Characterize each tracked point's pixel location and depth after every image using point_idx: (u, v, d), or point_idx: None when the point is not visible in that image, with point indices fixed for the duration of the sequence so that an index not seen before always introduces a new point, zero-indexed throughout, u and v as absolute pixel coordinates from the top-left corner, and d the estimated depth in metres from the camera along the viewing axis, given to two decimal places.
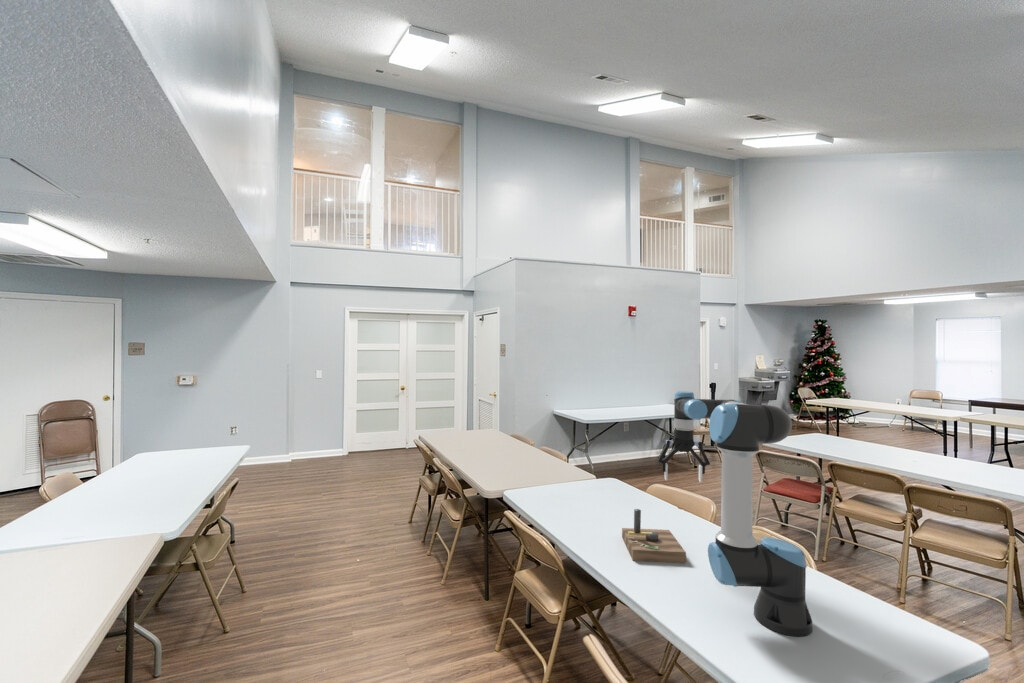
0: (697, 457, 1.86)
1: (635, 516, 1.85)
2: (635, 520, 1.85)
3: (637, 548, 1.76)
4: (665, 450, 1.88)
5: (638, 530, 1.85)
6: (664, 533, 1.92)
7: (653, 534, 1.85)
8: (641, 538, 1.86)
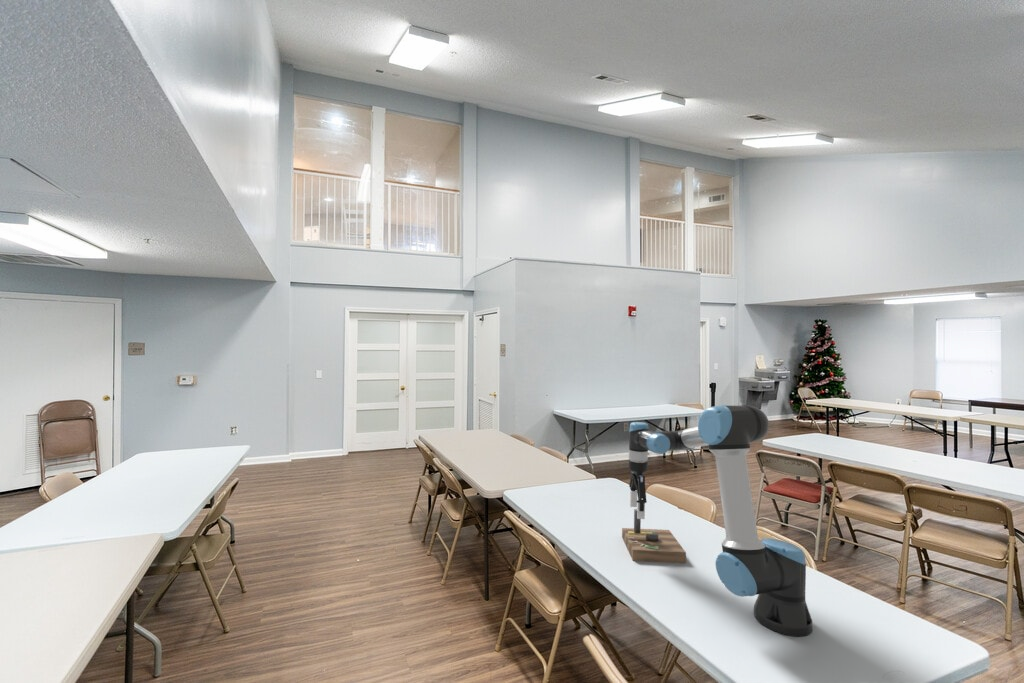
0: (637, 491, 1.81)
1: (635, 516, 1.85)
2: (635, 520, 1.85)
3: (637, 548, 1.76)
4: (631, 477, 1.94)
5: (638, 530, 1.85)
6: (664, 533, 1.92)
7: (653, 534, 1.85)
8: (641, 538, 1.86)
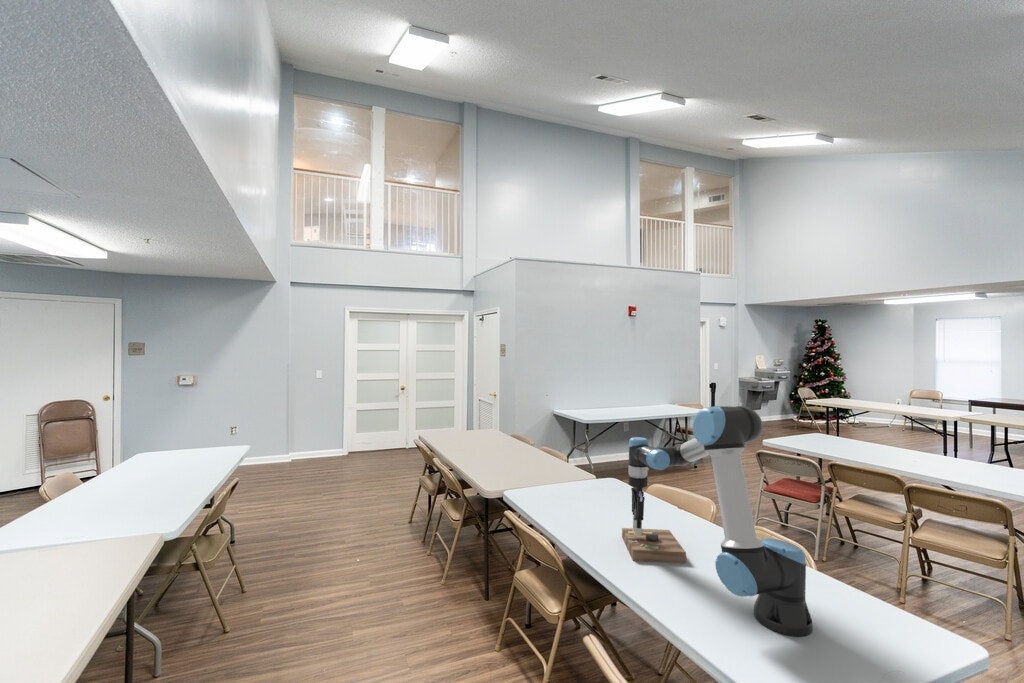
0: (635, 508, 1.84)
1: (635, 516, 1.85)
2: None
3: (637, 548, 1.76)
4: (632, 498, 1.91)
5: None
6: (664, 533, 1.92)
7: (653, 534, 1.85)
8: (641, 538, 1.86)
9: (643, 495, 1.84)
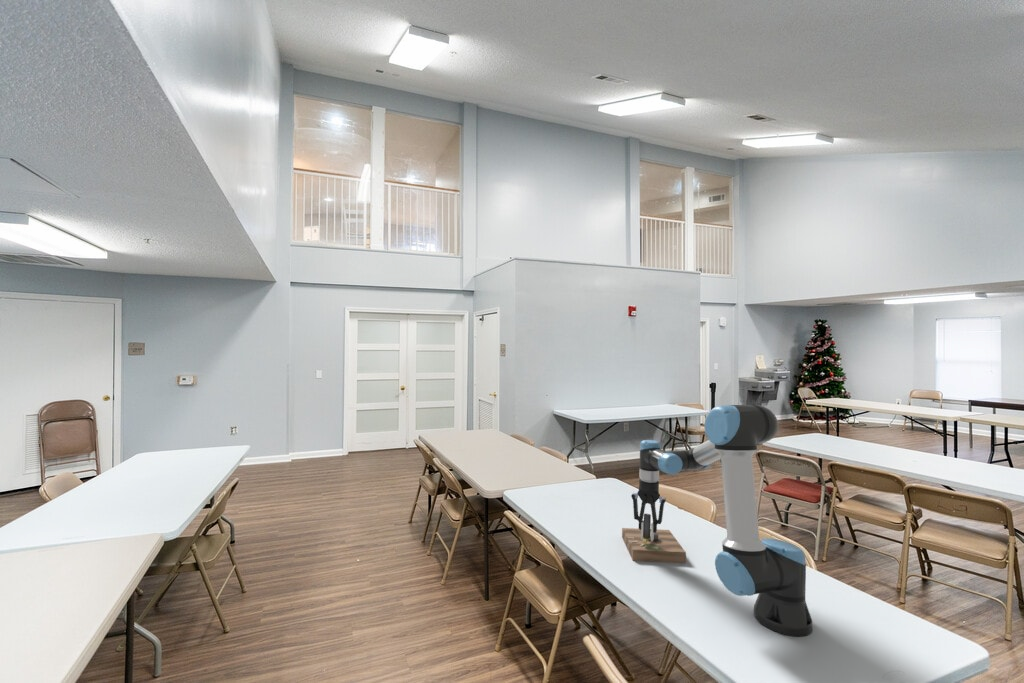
0: (653, 513, 1.79)
1: (648, 521, 1.79)
2: (648, 525, 1.79)
3: (637, 548, 1.76)
4: (634, 505, 1.82)
5: (650, 535, 1.80)
6: (664, 533, 1.92)
7: None
8: None
9: None
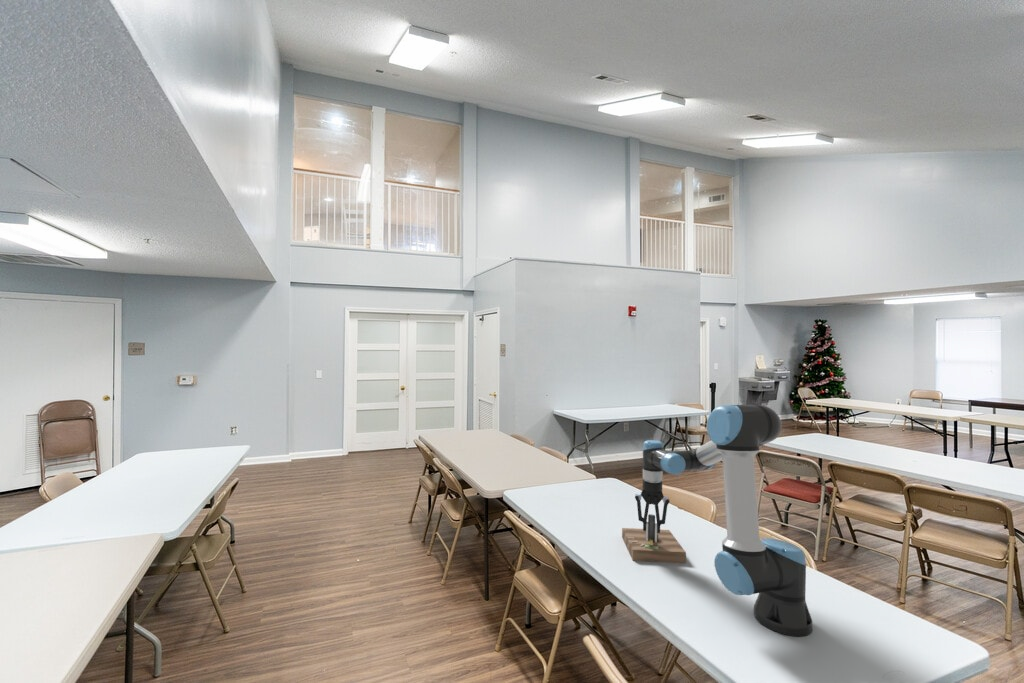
0: (657, 513, 1.78)
1: (653, 522, 1.79)
2: (653, 526, 1.79)
3: (637, 548, 1.76)
4: (638, 506, 1.80)
5: (654, 535, 1.80)
6: (664, 533, 1.92)
7: None
8: (641, 538, 1.86)
9: None
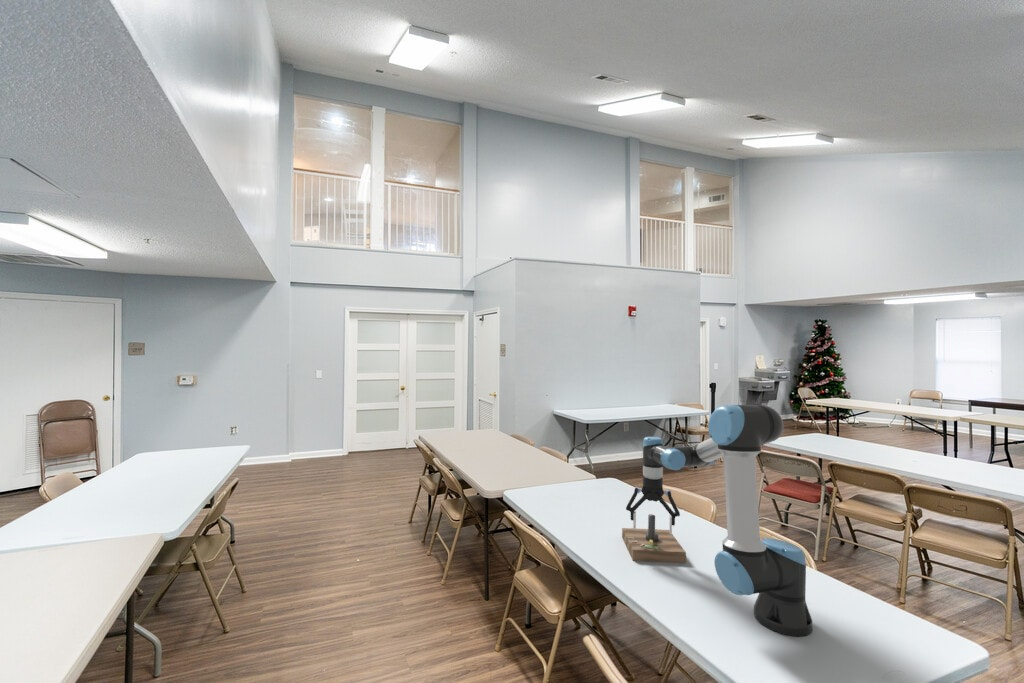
0: (666, 507, 1.77)
1: (653, 522, 1.79)
2: (653, 526, 1.79)
3: (637, 548, 1.76)
4: (633, 498, 1.81)
5: (654, 535, 1.80)
6: (664, 533, 1.92)
7: None
8: (641, 538, 1.86)
9: None
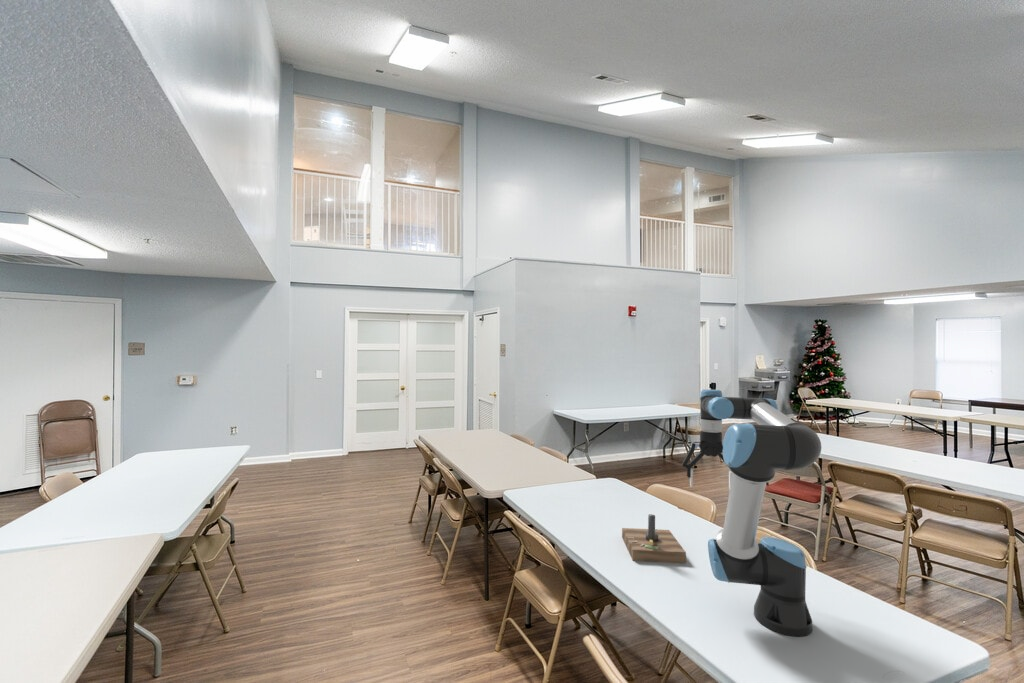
0: None
1: (653, 522, 1.79)
2: (653, 526, 1.79)
3: (637, 548, 1.76)
4: (690, 454, 1.71)
5: (654, 535, 1.80)
6: (664, 533, 1.92)
7: None
8: (641, 538, 1.86)
9: None
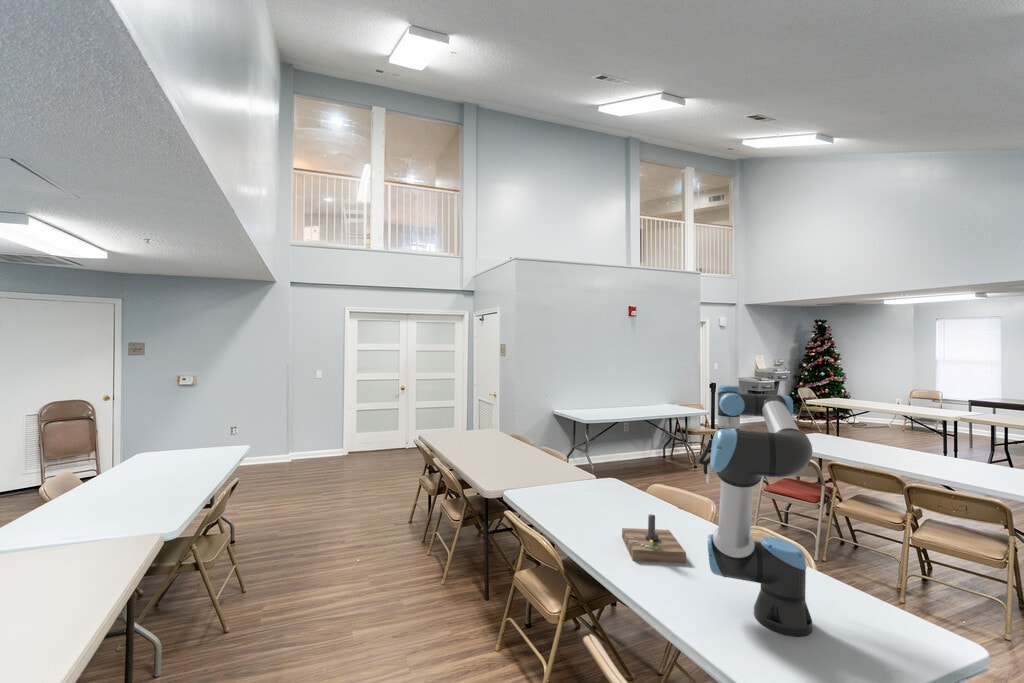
0: None
1: (653, 522, 1.79)
2: (653, 526, 1.79)
3: (637, 548, 1.76)
4: (707, 450, 1.69)
5: (654, 535, 1.80)
6: (664, 533, 1.92)
7: None
8: (641, 538, 1.86)
9: None
